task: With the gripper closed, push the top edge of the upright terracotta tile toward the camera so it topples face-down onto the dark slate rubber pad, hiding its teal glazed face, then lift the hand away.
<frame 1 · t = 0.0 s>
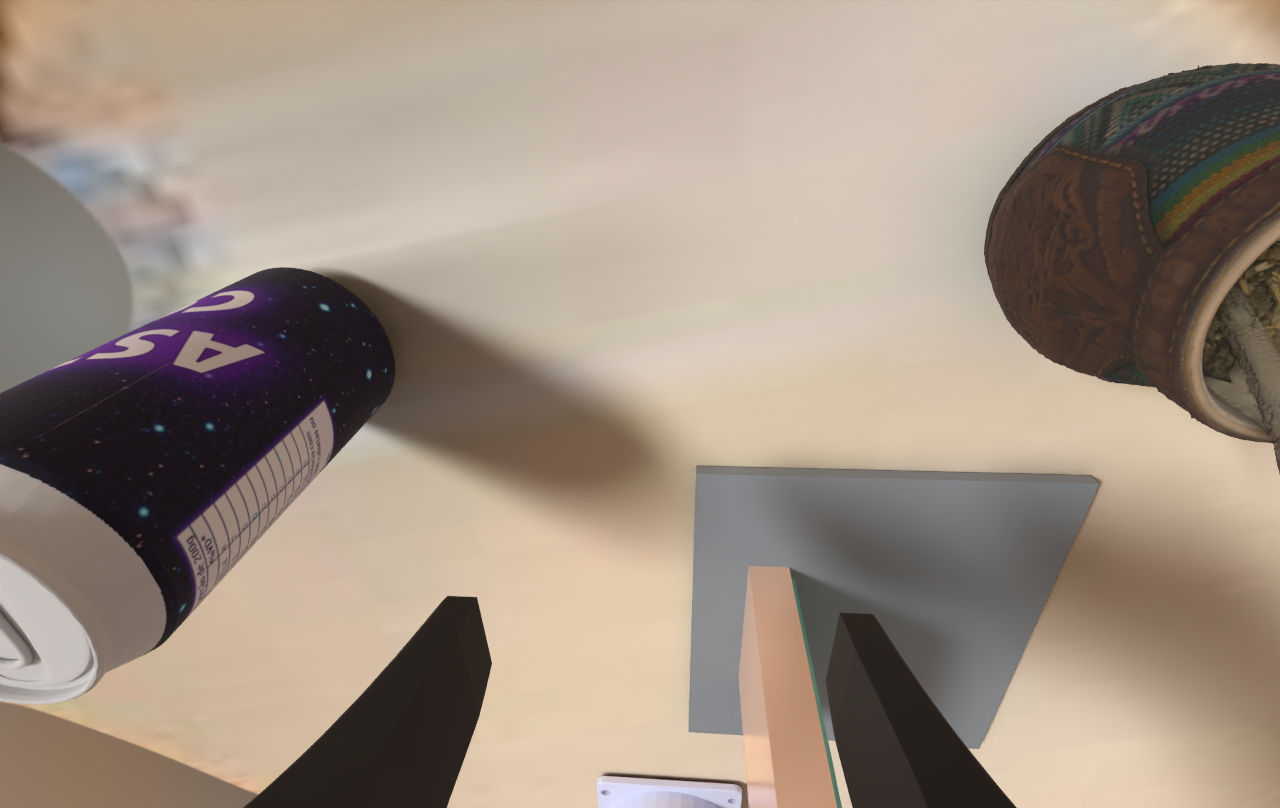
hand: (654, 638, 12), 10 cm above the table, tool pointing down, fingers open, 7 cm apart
slate pad: (854, 620, 25), on the table
tile: (762, 626, 25), resting on slate pad
beverage can: (329, 337, 21), on the table
mate gourd: (1087, 214, 17), on the table
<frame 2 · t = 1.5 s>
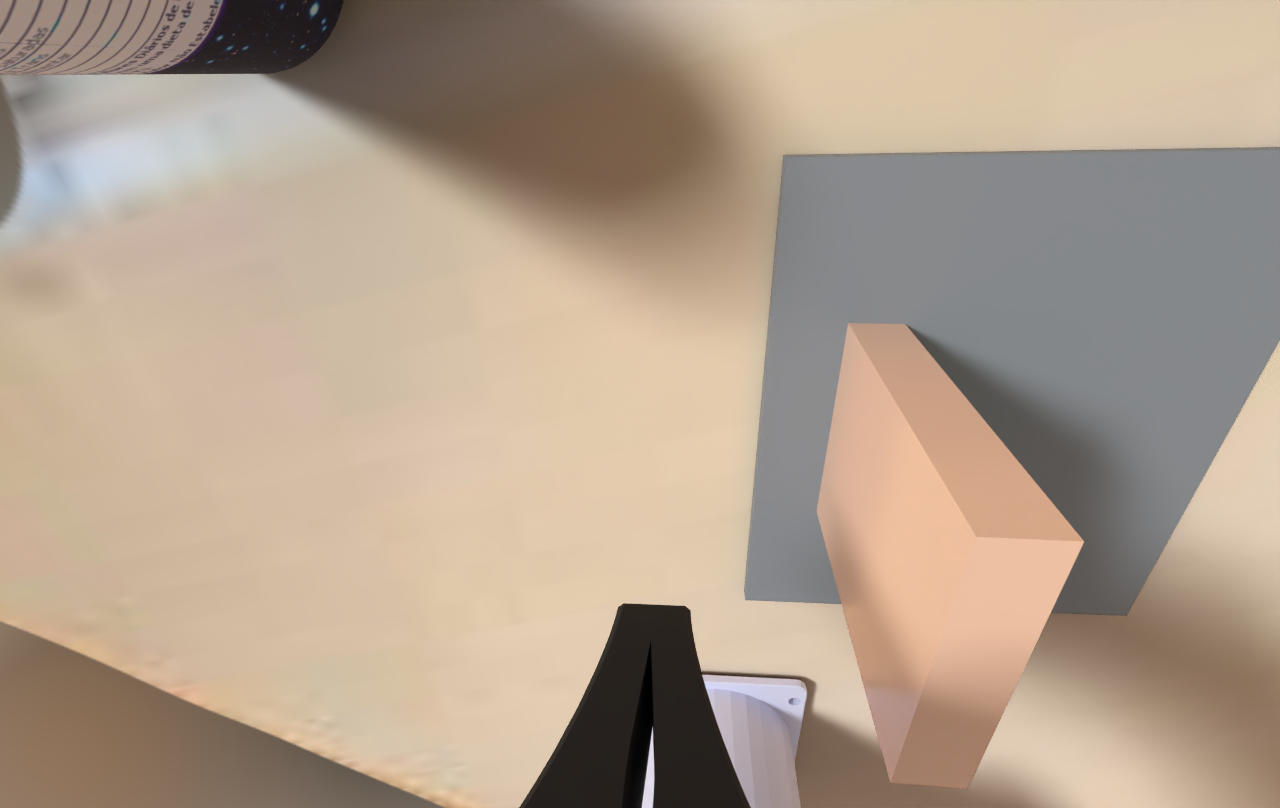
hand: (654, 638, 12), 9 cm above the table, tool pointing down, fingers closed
slate pad: (981, 420, 19), on the table
tile: (856, 426, 19), point 1 cm above the table, touching slate pad
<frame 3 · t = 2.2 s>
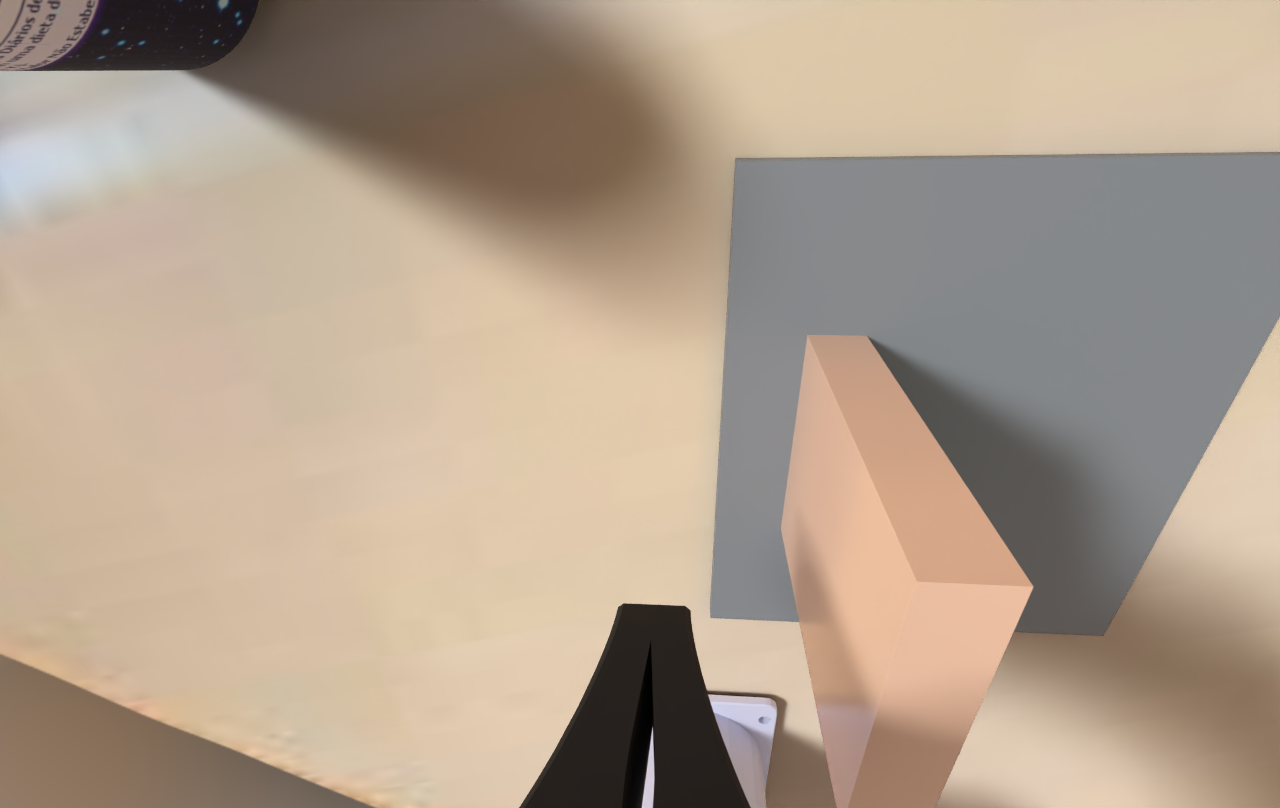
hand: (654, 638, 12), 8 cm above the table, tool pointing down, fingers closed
slate pad: (949, 435, 18), on the table
tile: (819, 441, 18), point 1 cm above the table, touching slate pad
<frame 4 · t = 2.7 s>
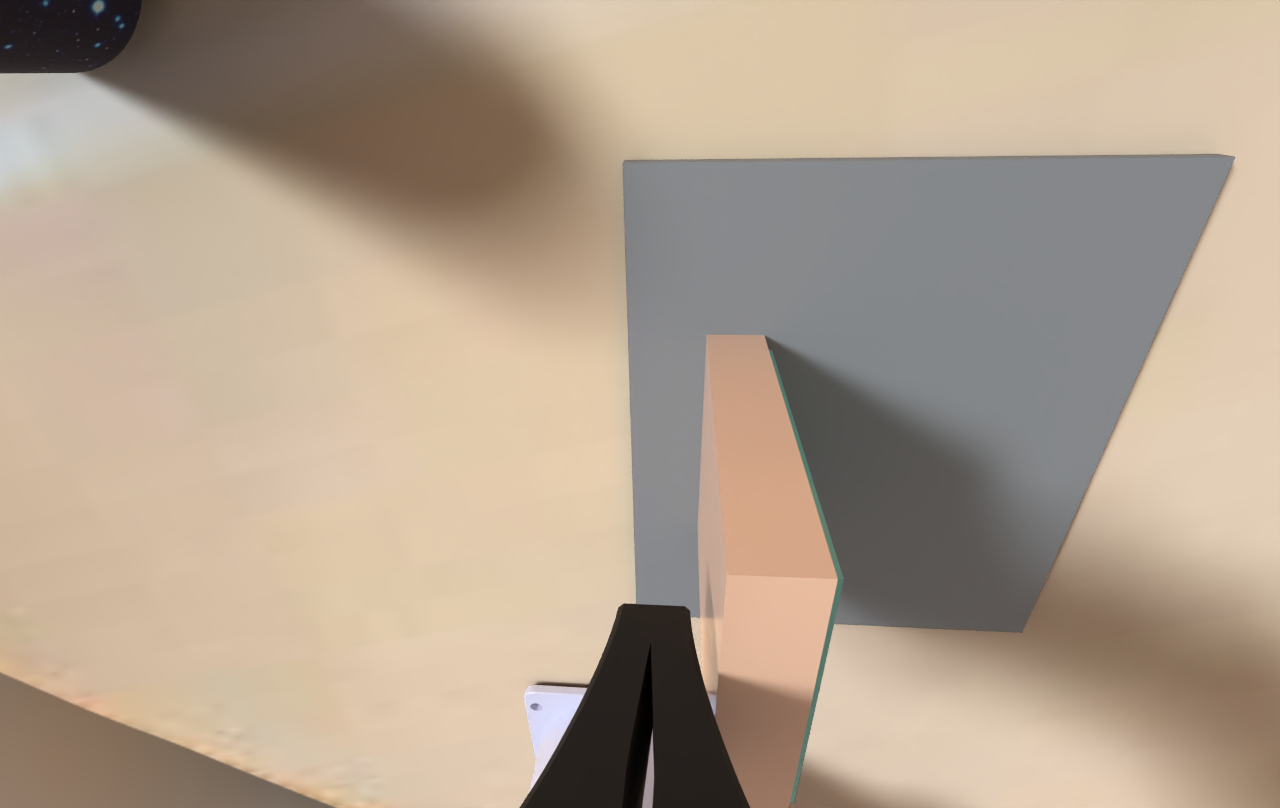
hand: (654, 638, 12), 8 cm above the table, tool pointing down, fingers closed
slate pad: (856, 434, 18), on the table
tile: (727, 440, 18), point 1 cm above the table, touching gripper, slate pad
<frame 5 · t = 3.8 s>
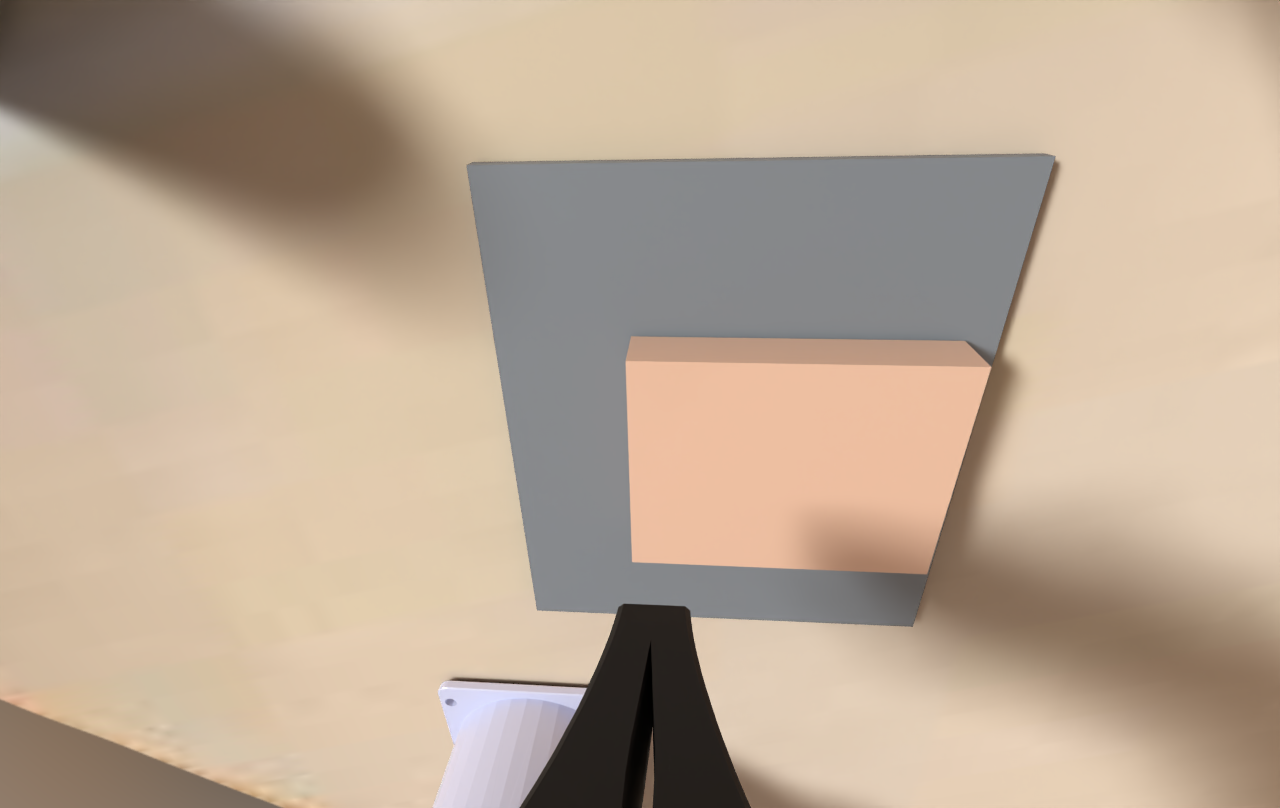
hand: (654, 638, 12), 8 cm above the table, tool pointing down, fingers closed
slate pad: (731, 430, 19), on the table
tile: (631, 456, 17), point 1 cm above the table, tilted 90°, touching slate pad
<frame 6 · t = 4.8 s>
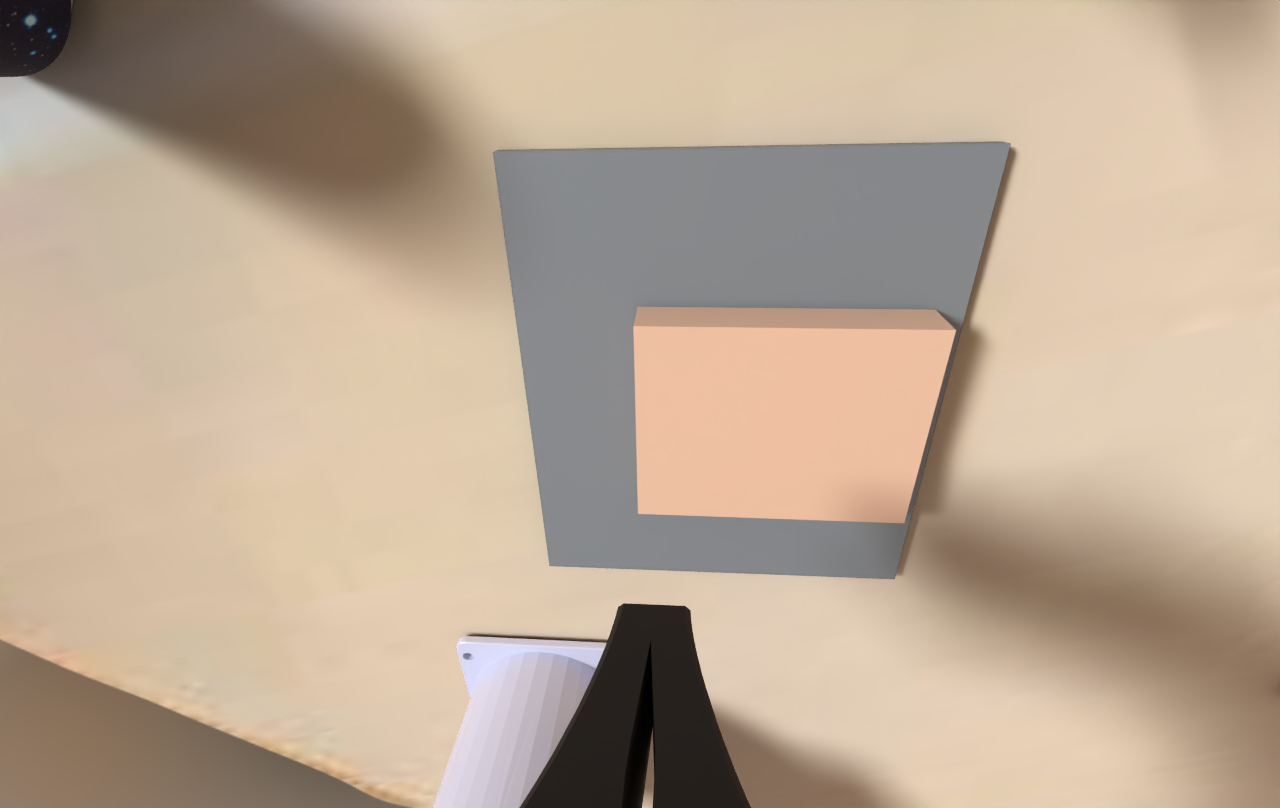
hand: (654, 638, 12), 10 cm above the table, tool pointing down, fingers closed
slate pad: (727, 395, 20), on the table
tile: (637, 415, 19), point 1 cm above the table, tilted 90°, touching slate pad
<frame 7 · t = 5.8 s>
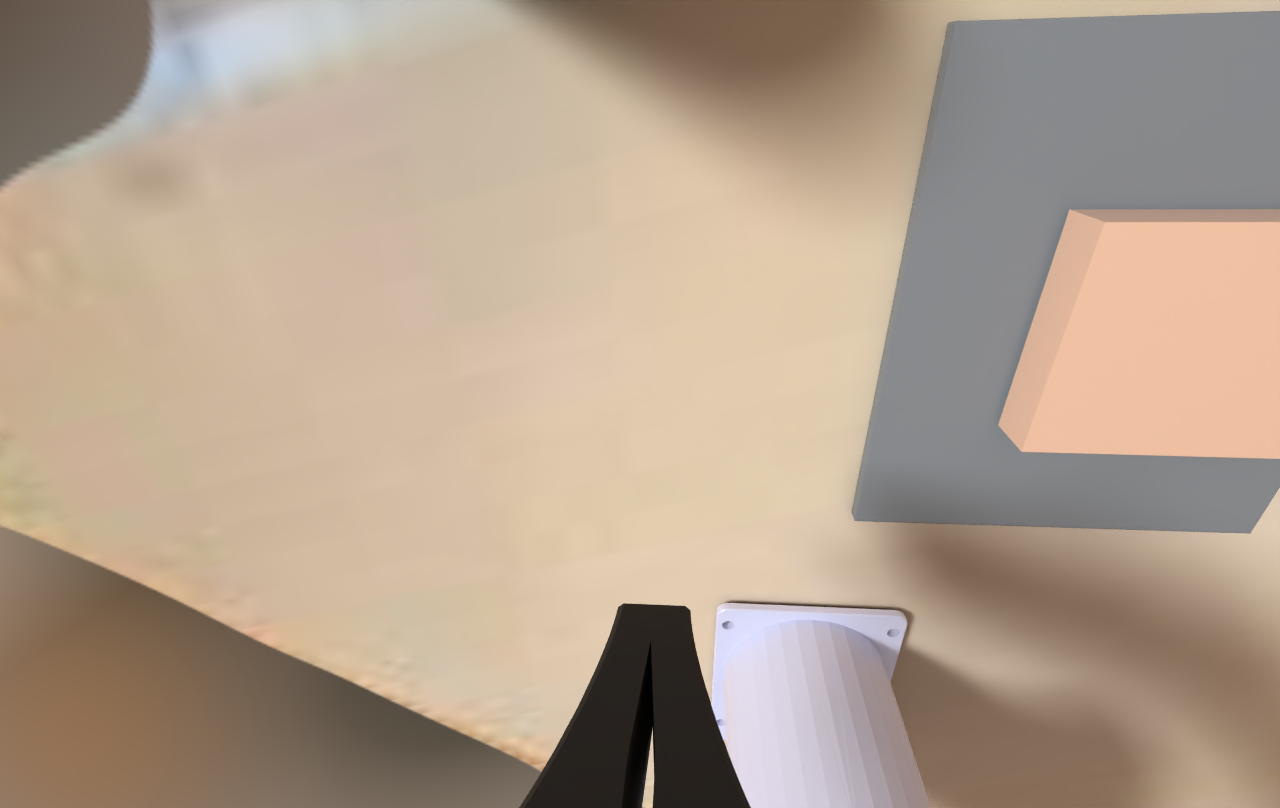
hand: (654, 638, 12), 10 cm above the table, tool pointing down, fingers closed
slate pad: (1120, 319, 18), on the table
tile: (1044, 337, 17), point 1 cm above the table, tilted 90°, touching slate pad
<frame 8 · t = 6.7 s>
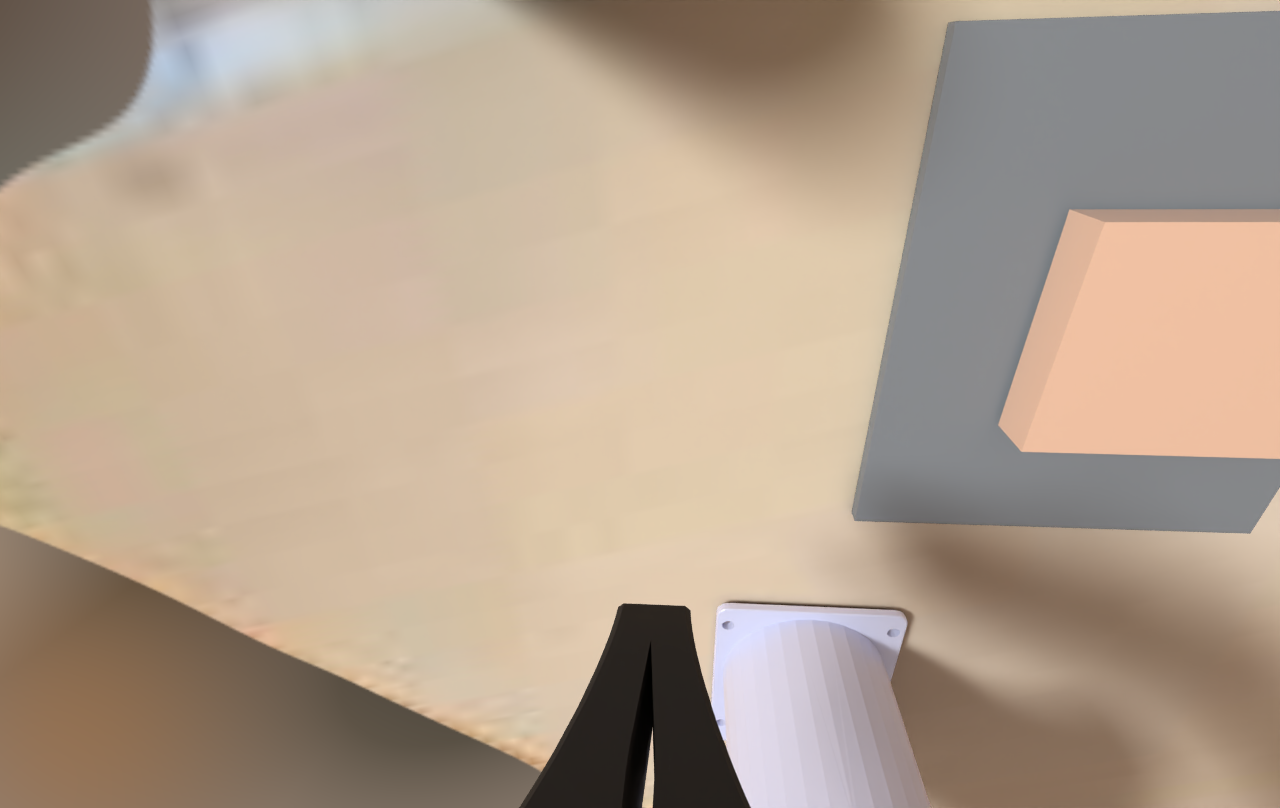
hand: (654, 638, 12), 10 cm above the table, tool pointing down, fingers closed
slate pad: (1120, 319, 18), on the table
tile: (1044, 337, 17), point 1 cm above the table, tilted 90°, touching slate pad
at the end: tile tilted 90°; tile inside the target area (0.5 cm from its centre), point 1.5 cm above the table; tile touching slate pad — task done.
